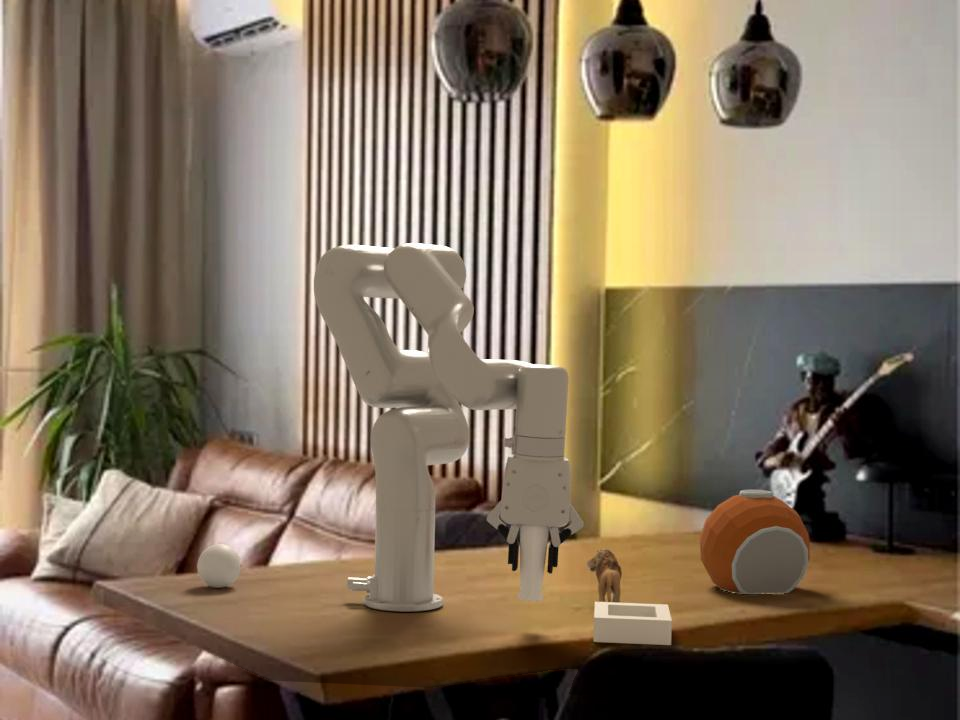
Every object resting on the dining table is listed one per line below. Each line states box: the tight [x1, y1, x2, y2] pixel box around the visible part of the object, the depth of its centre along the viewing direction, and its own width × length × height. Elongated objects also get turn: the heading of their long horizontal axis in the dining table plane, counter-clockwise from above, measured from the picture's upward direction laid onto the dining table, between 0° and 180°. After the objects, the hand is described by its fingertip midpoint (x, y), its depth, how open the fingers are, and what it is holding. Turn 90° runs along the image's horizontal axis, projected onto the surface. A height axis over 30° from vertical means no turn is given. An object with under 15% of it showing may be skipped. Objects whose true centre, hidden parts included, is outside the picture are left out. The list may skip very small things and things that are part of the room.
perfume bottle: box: [517, 525, 550, 602], centre depth 206 cm, size 5×4×15 cm
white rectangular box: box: [593, 601, 673, 646], centre depth 204 cm, size 11×12×4 cm
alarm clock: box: [699, 489, 811, 595], centre depth 244 cm, size 19×18×17 cm
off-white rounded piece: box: [196, 543, 243, 589], centre depth 235 cm, size 10×7×7 cm
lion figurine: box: [586, 548, 623, 603], centre depth 223 cm, size 15×5×9 cm, turn 6°
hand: (532, 569), depth 206 cm, fingers closed on perfume bottle, 4 cm apart
